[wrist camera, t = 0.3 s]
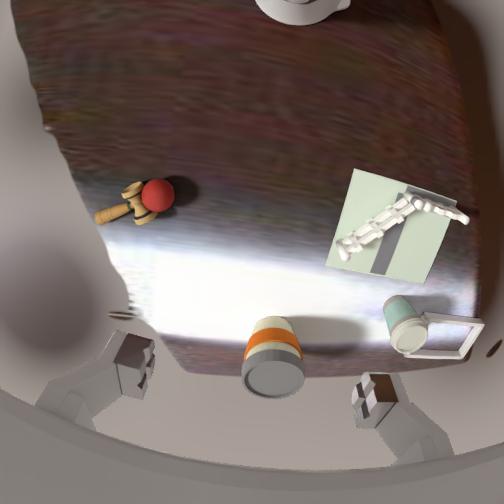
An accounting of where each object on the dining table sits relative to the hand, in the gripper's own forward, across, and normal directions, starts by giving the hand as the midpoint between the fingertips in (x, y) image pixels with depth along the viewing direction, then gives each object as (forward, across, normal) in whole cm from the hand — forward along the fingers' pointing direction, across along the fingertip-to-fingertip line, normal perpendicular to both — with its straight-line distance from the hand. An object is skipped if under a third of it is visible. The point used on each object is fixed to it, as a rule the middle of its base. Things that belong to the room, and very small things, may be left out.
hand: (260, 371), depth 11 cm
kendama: (+47, +23, +12) cm, 54 cm away
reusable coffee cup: (+47, -9, +37) cm, 61 cm away
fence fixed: (+46, -34, 0) cm, 57 cm away
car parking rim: (+46, -55, +32) cm, 79 cm away
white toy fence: (+46, -22, +6) cm, 51 cm away
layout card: (+46, -28, +8) cm, 55 cm away
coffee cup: (+47, -35, +25) cm, 64 cm away
